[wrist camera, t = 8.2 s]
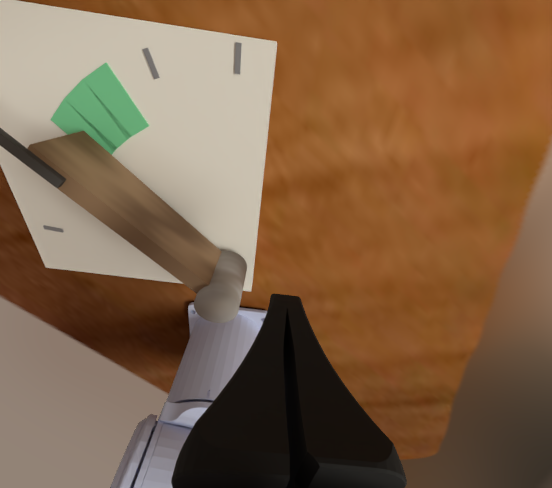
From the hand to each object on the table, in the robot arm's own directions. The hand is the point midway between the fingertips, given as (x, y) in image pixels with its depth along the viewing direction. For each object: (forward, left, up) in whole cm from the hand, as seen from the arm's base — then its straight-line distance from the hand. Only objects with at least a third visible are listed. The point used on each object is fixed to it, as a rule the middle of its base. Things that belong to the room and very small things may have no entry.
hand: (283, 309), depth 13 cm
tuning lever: (0, +9, -8) cm, 12 cm away
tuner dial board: (+2, +11, -9) cm, 15 cm away
